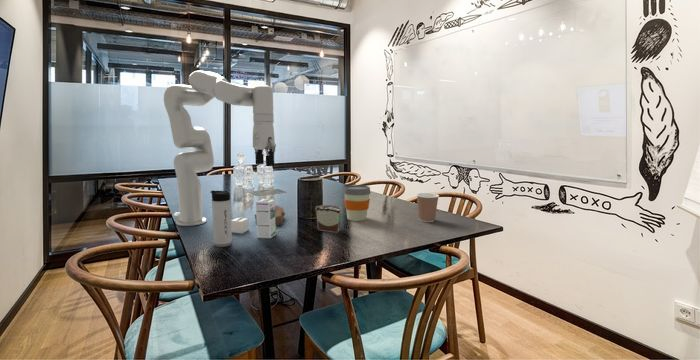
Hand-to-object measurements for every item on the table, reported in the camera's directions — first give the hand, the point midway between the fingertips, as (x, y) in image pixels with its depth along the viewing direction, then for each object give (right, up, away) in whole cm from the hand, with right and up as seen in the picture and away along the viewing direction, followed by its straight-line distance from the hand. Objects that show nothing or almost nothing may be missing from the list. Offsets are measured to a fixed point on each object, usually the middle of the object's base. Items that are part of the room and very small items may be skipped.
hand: (264, 164), depth 146 cm
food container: (+25, -27, +14) cm, 39 cm away
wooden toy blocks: (-4, -25, +28) cm, 37 cm away
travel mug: (-14, -30, -7) cm, 34 cm away
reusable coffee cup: (+36, -24, +34) cm, 55 cm away
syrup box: (0, -28, +4) cm, 29 cm away
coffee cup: (+69, -25, +31) cm, 79 cm away
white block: (-13, -27, +11) cm, 32 cm away
